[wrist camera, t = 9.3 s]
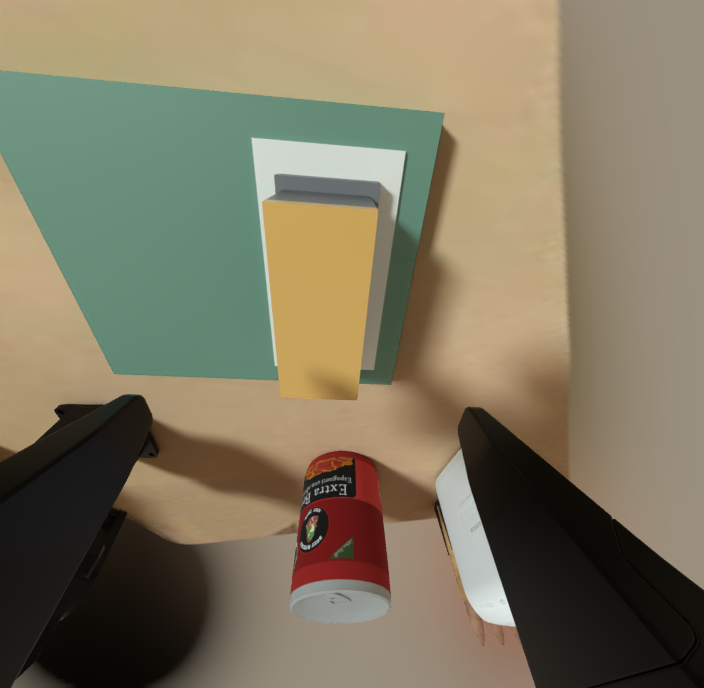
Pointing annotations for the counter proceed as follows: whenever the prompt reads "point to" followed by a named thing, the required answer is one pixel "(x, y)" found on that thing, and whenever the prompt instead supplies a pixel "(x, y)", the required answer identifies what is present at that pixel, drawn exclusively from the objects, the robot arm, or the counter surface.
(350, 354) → the yellow and grey block
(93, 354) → the counter surface
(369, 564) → the canned food
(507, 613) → the photo printer
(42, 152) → the board
